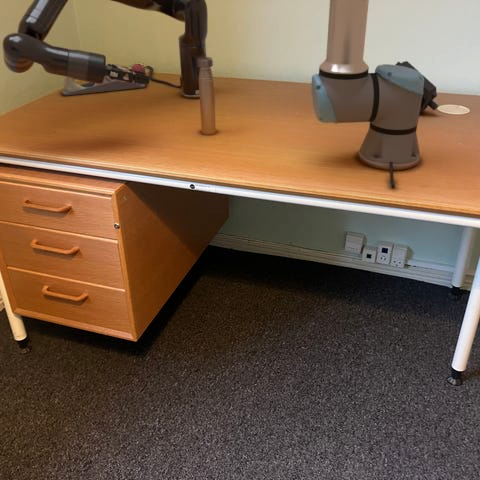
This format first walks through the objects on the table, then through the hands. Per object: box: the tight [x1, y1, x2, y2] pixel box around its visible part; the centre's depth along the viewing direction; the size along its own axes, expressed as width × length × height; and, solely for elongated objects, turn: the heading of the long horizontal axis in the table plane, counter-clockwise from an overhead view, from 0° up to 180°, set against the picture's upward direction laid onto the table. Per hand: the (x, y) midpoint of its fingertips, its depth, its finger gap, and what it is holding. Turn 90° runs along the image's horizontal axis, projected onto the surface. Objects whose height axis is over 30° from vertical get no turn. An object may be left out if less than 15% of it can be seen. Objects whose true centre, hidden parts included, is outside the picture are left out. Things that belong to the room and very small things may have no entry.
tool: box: [395, 60, 439, 114], centre depth 169 cm, size 6×19×15 cm, turn 51°
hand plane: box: [61, 63, 146, 96], centre depth 194 cm, size 7×31×15 cm, turn 107°
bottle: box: [199, 67, 217, 136], centre depth 153 cm, size 4×4×21 cm
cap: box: [198, 56, 214, 68], centre depth 148 cm, size 4×4×2 cm
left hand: (147, 78), depth 145 cm, fingers open, 8 cm apart
